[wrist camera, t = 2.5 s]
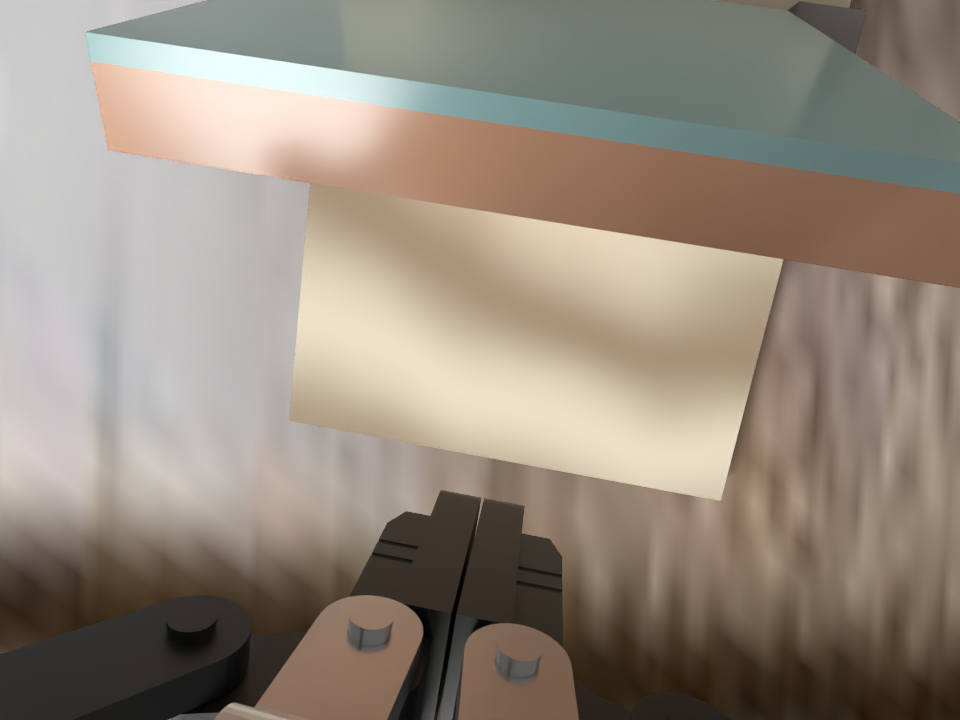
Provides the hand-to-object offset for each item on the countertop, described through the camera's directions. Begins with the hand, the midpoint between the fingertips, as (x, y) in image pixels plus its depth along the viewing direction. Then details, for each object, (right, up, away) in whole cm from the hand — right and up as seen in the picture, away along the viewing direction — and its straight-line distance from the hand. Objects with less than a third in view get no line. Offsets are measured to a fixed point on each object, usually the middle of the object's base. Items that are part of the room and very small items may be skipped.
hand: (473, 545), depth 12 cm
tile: (+2, +9, +1) cm, 9 cm away
